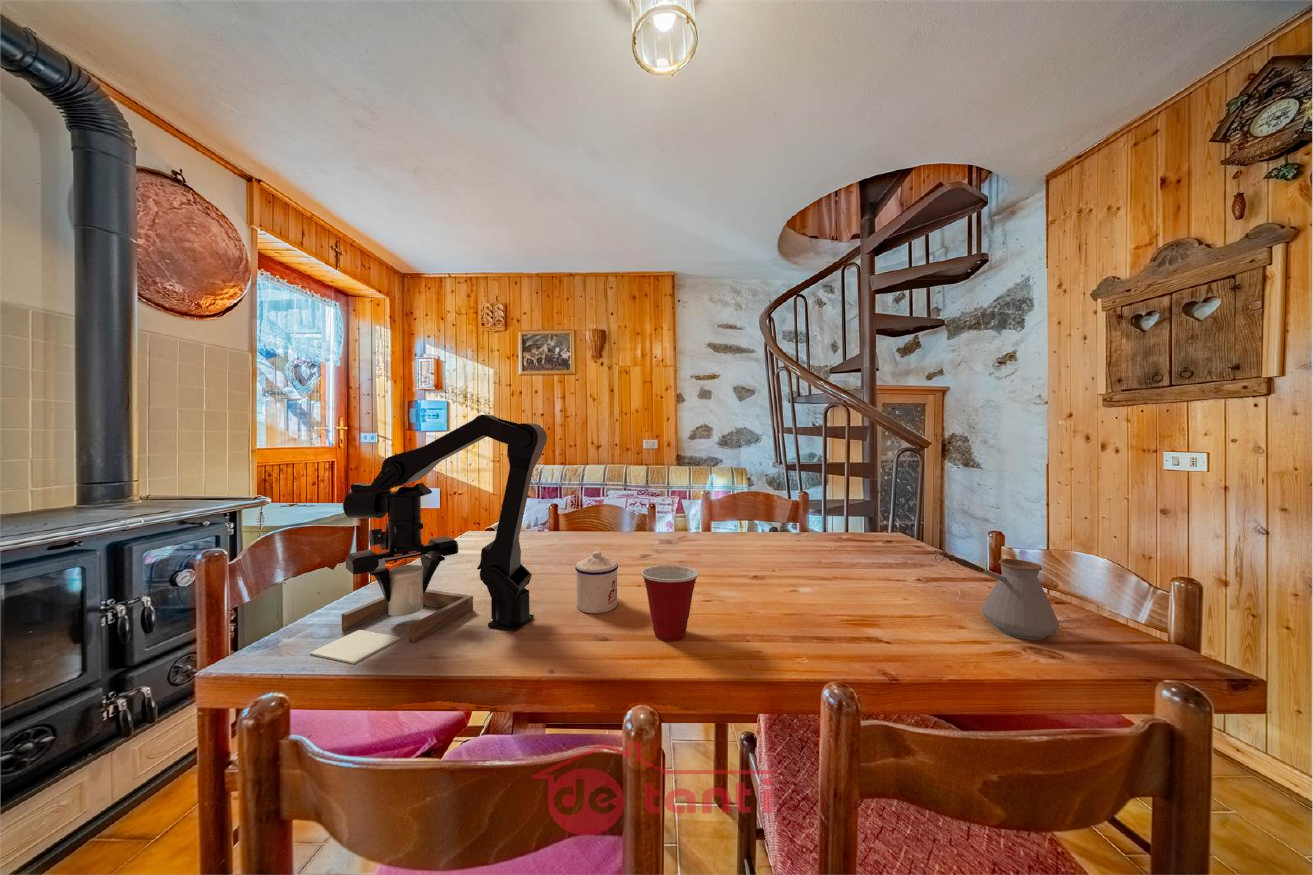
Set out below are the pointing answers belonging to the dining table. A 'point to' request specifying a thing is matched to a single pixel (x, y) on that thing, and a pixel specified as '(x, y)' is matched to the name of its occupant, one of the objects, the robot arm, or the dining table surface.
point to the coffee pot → (1016, 599)
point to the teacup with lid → (596, 584)
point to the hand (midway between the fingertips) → (405, 596)
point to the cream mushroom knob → (406, 590)
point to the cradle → (450, 611)
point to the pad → (355, 646)
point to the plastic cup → (669, 599)
